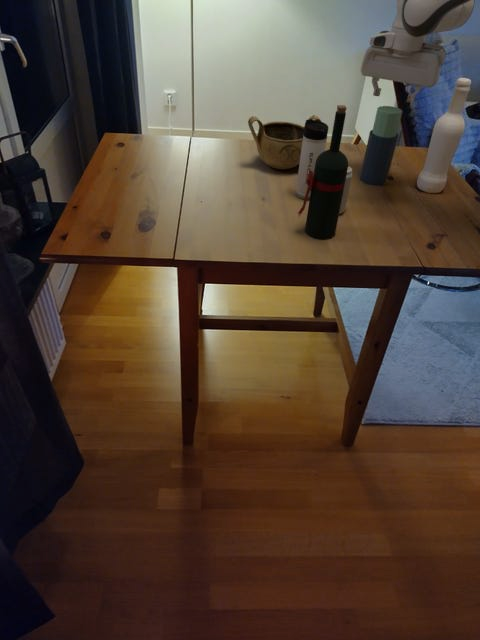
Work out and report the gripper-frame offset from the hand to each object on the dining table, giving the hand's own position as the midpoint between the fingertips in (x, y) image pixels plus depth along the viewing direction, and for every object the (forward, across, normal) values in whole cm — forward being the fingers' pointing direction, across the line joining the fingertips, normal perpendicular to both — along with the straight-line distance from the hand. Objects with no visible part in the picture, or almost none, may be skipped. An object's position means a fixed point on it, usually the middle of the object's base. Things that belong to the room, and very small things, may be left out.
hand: (392, 98), depth 126 cm
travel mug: (+23, +12, +22) cm, 34 cm away
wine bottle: (+24, +1, +39) cm, 46 cm away
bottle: (+24, -16, -5) cm, 29 cm away
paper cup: (+9, 0, 0) cm, 9 cm away
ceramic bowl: (+23, +28, +8) cm, 37 cm away
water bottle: (+23, 0, 0) cm, 23 cm away
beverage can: (+24, +2, +26) cm, 35 cm away
